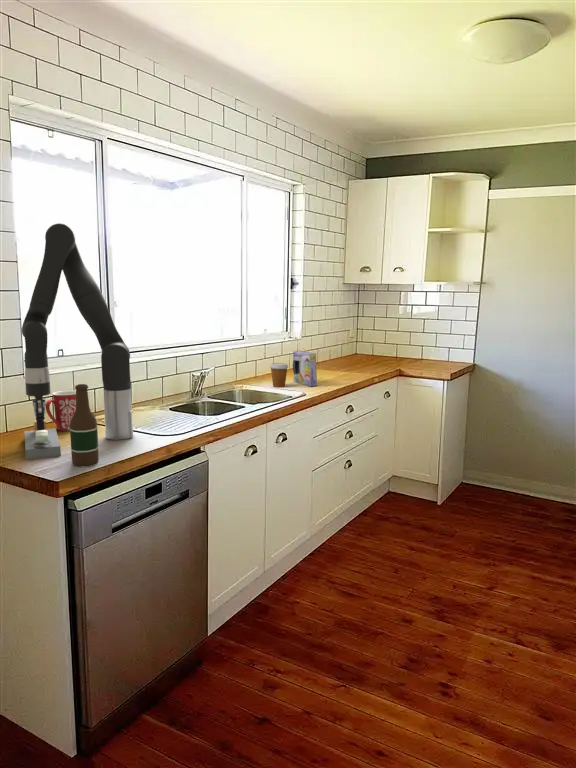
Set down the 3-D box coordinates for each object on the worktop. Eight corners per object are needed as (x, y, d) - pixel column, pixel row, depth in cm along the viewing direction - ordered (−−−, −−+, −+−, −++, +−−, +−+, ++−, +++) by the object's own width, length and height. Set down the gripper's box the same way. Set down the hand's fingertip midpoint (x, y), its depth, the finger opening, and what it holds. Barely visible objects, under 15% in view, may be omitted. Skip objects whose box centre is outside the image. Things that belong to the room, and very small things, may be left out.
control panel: (56, 436, 208) (55, 428, 207) (61, 456, 185) (60, 446, 184) (25, 439, 203) (24, 430, 203) (26, 459, 180) (25, 450, 180)
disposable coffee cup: (281, 388, 305) (281, 365, 303) (266, 386, 310) (266, 364, 308) (291, 386, 313) (291, 363, 311) (276, 384, 318) (276, 362, 316)
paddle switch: (46, 429, 204) (45, 419, 203) (46, 430, 202) (45, 421, 201) (34, 430, 202) (34, 420, 202) (34, 431, 200) (34, 422, 200)
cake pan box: (291, 381, 327) (292, 350, 324) (299, 381, 329) (300, 349, 326) (309, 387, 310) (309, 353, 307) (317, 386, 313) (317, 353, 310)
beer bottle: (82, 458, 182) (78, 382, 178) (104, 460, 180) (100, 383, 176) (66, 465, 175) (61, 386, 171) (88, 468, 173) (84, 387, 169)
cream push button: (47, 435, 190) (47, 429, 190) (48, 438, 187) (47, 432, 187) (35, 436, 189) (35, 430, 189) (36, 439, 186) (35, 433, 185)
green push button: (48, 438, 186) (48, 432, 186) (48, 441, 183) (48, 435, 183) (36, 440, 185) (35, 433, 185) (36, 442, 182) (35, 436, 181)
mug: (70, 424, 226) (68, 389, 223) (85, 427, 221) (83, 392, 218) (40, 430, 215) (37, 394, 213) (55, 434, 210) (52, 397, 208)
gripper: (50, 383, 192) (54, 434, 194) (48, 377, 203) (51, 426, 206) (25, 384, 188) (29, 437, 191) (24, 378, 200) (28, 428, 203)
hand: (40, 431), depth 199 cm, fingers closed
